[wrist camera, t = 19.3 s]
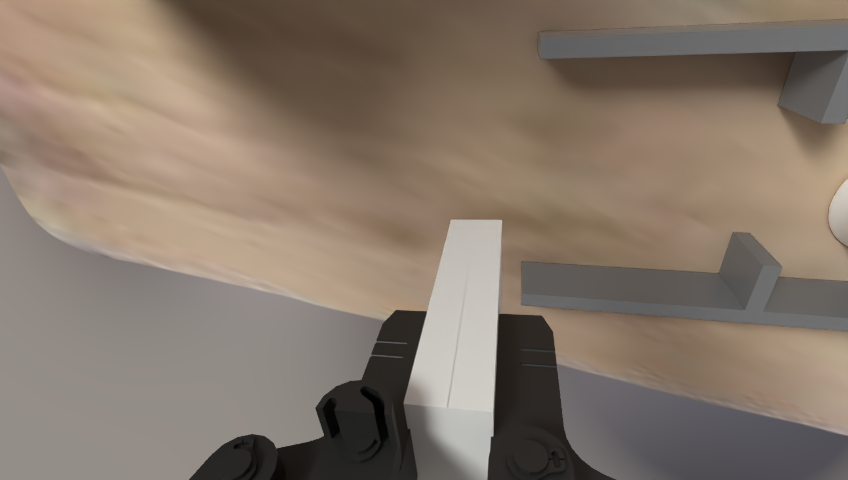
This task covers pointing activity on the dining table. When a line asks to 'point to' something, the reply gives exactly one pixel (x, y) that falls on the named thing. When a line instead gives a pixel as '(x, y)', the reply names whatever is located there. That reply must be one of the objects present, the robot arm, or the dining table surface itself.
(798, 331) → the dining table surface
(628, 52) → the grey rectangular frame
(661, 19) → the dining table surface
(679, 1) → the dining table surface
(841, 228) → the mug
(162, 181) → the dining table surface
